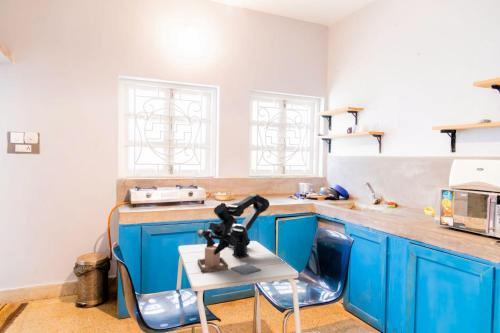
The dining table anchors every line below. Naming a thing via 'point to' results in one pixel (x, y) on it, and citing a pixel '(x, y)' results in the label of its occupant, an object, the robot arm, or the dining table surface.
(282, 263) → the dining table surface
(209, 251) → the terracotta block
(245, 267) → the slate pad
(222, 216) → the robot arm
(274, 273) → the dining table surface
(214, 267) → the walnut well
